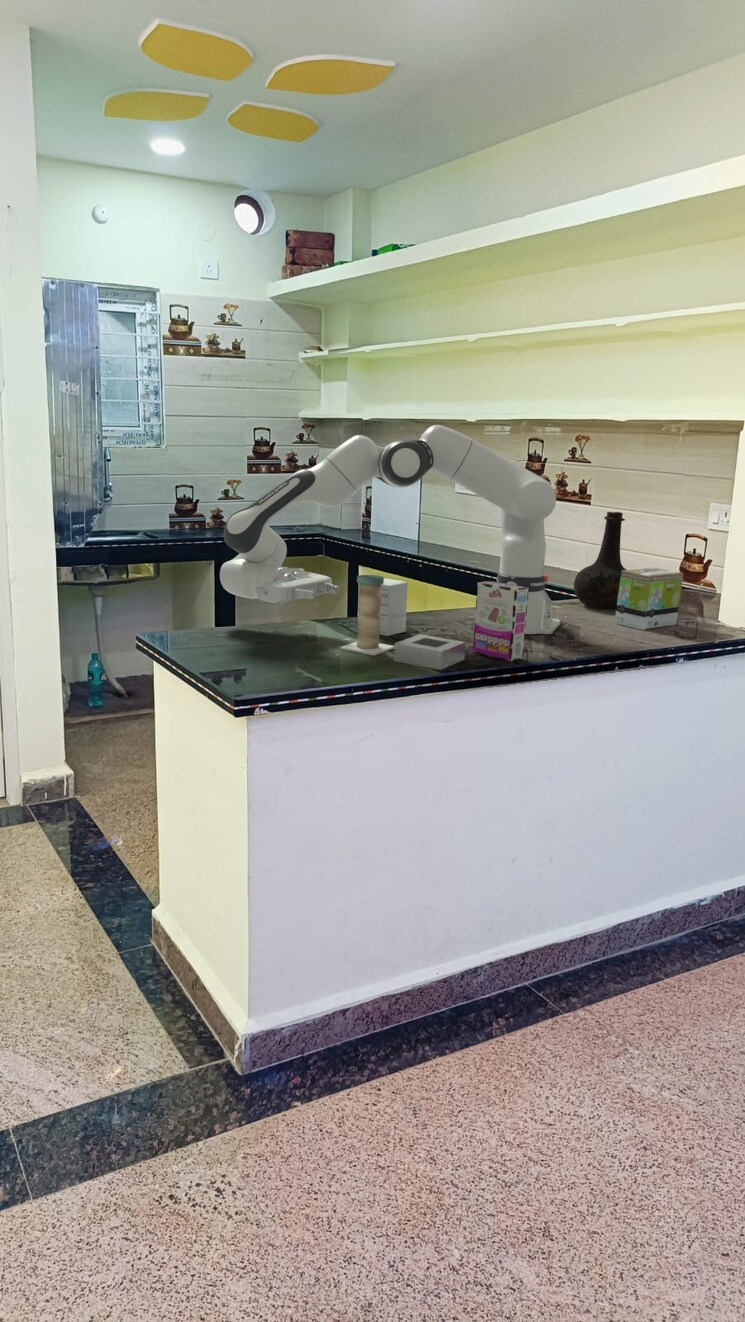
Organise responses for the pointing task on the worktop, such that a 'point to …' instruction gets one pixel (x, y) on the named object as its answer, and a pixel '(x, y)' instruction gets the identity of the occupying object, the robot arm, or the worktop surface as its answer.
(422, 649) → the metal collar
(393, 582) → the supplement box
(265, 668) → the worktop surface
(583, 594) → the glass bottle
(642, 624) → the tea box
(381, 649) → the white mat
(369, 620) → the birch stopper
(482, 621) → the candy bar box
